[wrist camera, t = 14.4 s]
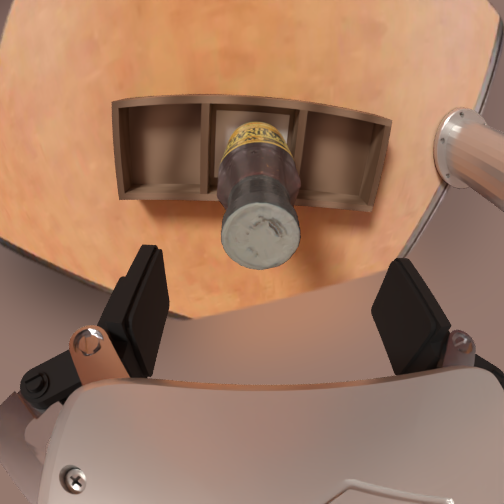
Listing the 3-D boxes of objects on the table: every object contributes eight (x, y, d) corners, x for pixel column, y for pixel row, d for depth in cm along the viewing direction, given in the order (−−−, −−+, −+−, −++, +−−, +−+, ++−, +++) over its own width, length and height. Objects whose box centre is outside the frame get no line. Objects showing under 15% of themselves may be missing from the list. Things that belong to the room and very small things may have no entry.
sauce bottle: (279, 115, 28) (333, 167, 12) (286, 167, 32) (335, 275, 15) (220, 125, 29) (189, 190, 12) (231, 176, 32) (220, 293, 16)
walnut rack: (377, 115, 29) (392, 120, 26) (360, 198, 36) (371, 212, 32) (125, 98, 27) (111, 101, 24) (130, 187, 34) (119, 199, 30)
